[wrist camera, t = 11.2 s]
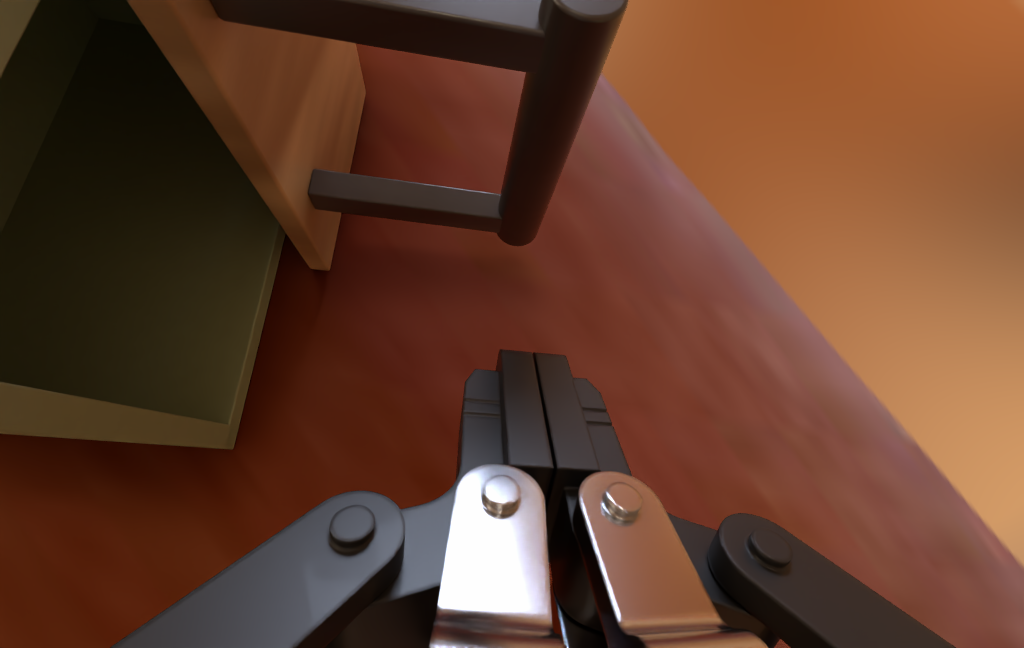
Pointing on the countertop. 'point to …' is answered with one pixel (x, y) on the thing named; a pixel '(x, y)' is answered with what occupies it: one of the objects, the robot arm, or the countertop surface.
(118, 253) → the cabinet
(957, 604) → the countertop surface
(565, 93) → the brown panel dark handle
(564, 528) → the robot arm
